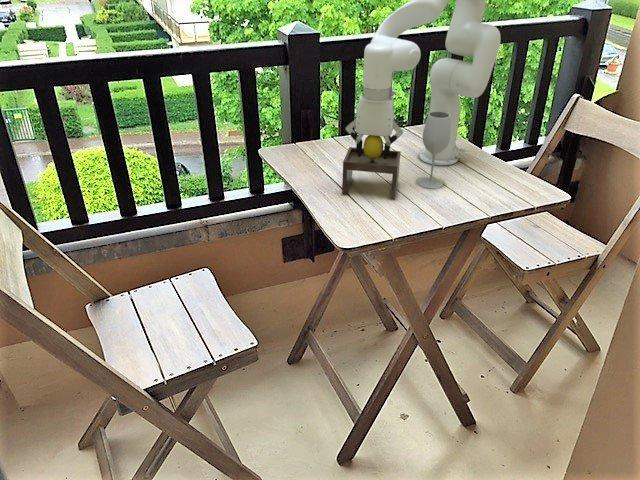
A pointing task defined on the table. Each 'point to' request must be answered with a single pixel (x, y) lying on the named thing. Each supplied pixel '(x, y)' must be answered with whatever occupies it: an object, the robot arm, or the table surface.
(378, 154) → the lemon
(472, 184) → the table surface
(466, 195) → the table surface
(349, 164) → the shelf
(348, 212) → the table surface
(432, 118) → the wineglass
